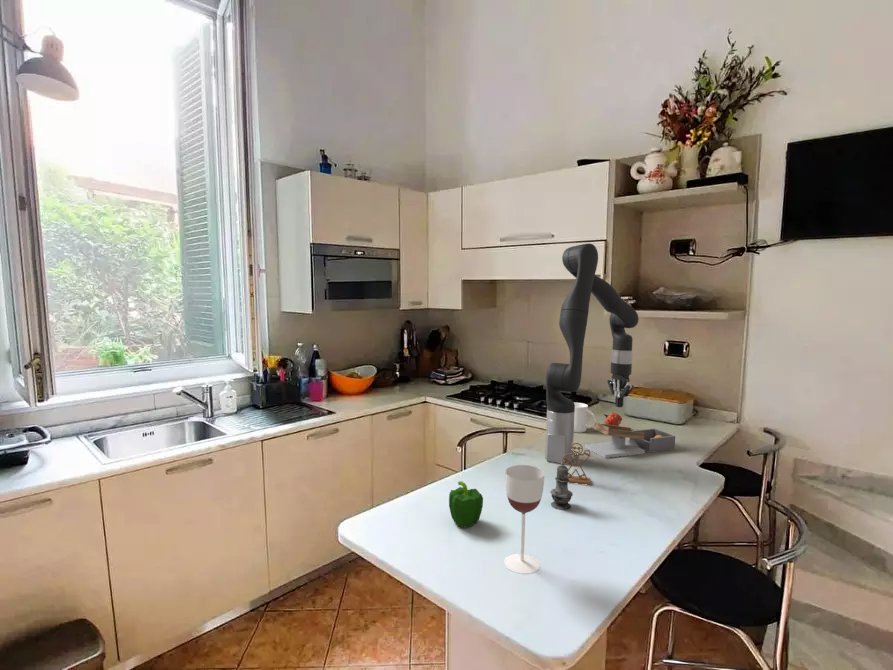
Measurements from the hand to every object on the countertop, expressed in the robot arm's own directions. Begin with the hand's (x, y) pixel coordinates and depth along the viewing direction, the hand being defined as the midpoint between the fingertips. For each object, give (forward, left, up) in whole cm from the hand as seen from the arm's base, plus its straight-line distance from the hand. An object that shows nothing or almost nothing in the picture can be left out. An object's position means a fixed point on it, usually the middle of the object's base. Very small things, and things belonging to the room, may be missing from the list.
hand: (618, 406), depth 186 cm
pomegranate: (+18, +4, -14) cm, 23 cm away
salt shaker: (-65, +7, -14) cm, 67 cm away
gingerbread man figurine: (-46, +7, -14) cm, 49 cm away
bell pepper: (-86, +26, -14) cm, 91 cm away
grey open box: (+2, -12, -14) cm, 19 cm away
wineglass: (-97, +8, -14) cm, 99 cm away
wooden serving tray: (-7, +1, -8) cm, 11 cm away
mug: (+9, +16, -14) cm, 23 cm away
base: (-10, 0, -14) cm, 17 cm away
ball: (+4, -15, -12) cm, 19 cm away
